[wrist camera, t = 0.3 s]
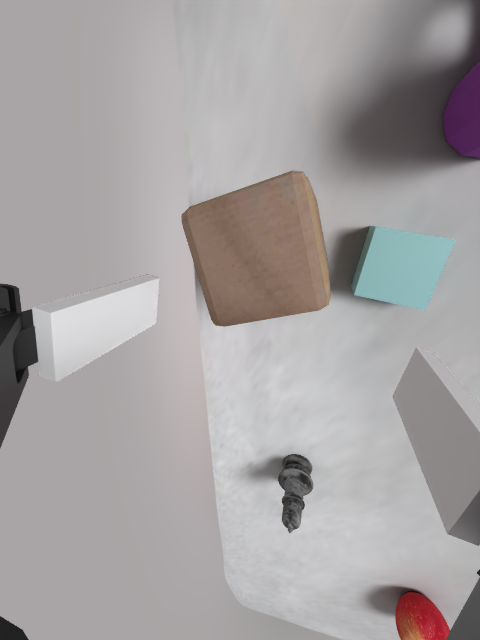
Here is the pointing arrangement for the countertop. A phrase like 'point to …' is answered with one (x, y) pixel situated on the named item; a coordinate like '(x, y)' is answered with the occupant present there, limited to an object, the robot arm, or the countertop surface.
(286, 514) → the grey chess piece
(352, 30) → the countertop surface
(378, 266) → the teal block
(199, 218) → the wooden block
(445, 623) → the apple
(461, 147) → the mug
